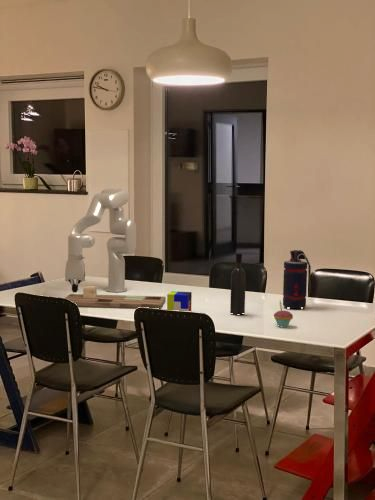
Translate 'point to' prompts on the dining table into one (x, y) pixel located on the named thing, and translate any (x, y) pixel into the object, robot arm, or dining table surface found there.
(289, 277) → the grenade
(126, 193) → the robot arm
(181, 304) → the puzzle toy
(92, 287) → the maple block
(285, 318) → the cupcake
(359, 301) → the dining table surface
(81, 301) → the trap deck
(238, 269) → the wine bottle
